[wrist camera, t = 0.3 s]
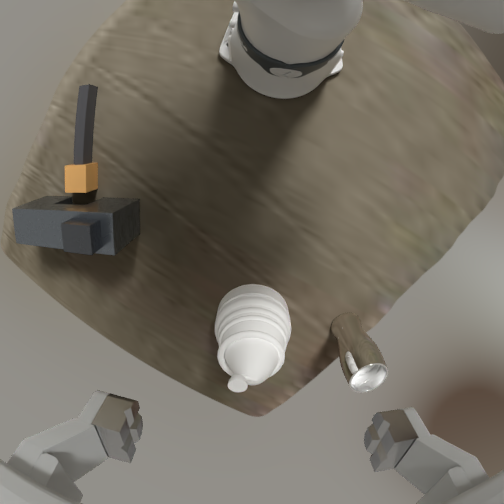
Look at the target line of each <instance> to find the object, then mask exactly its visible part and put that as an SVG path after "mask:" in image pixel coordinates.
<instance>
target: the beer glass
mask: <svg viewBox="0 0 504 504" xmlns="http://www.w3.org/2000/svg"><path fill="white" fill-rule="evenodd" d="M331 332H332V334H333V336H334V337H335V338H336V340H337V341H338V347H339V357H340V363H341V367H342V370H343V373H344V375H345V378H346V380H347V382H348V384H349V387H350V389H351V390H353V391H355V392H358V393H364V392H369V391H371V390H374V389H376V388H377V387H379V386H380V385H381V384H382V383H383V382H384V381H385V380H386V378H387V376H388V368H387V366H386V363H385V361H384V358H383V356H382V354H381V352H380V350H379V348H378V347H377V345H376V344H375V342H374V341H373V340H372V339H371V338H370V337H369V336H368V334H367V333H366V332H365V331H364V330H363V328H362V324H361V320H360V318H359V316H358V315H356V314H355V313H350V312H348V313H343V314H341V315H339V316H338V317H336V318H335V319H334V321H333V322H332V325H331Z"/></svg>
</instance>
